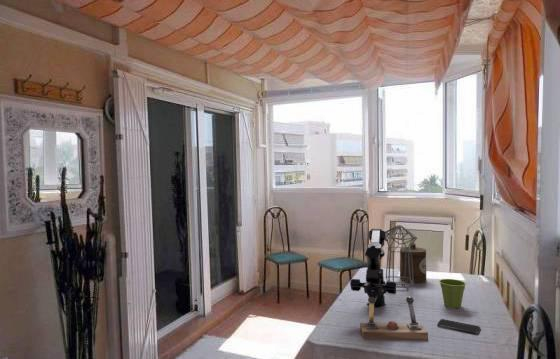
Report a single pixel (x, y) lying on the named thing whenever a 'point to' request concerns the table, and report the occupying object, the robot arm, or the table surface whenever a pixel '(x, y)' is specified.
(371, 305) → the dark gray metal lever
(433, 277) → the table surface
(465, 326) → the phone
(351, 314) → the table surface
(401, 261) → the wooden container
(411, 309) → the graphite lever
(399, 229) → the geometric lantern
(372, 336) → the switch panel
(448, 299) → the plant pot
